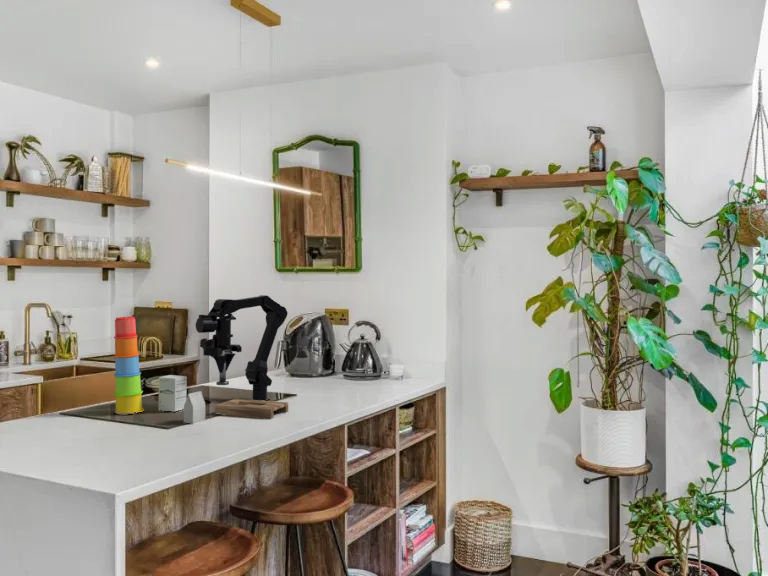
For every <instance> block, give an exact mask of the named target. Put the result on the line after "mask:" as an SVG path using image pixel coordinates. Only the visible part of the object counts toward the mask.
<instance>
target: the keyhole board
mask: <svg viewBox="0 0 768 576" xmlns="http://www.w3.org/2000/svg"><path fill="white" fill-rule="evenodd" d="M281 412H287V413H289V402H288V401H273V400H272V401H271V400H267V401H261V400H250V399H245V398H244V399H243V398H234V399H230V400H226V401H222V402H221V403H218V404H215V405H214V414H215V413H220V414H225V415H230V416H229V417H237V416H241V418H250V417H252V418H253V419H254V418H255V419H264V418H265V419H266V420H267V419H268V420H272V419H274V418H275V417H274V413H281ZM271 418H272V419H271Z"/></svg>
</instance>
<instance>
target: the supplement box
mask: <svg viewBox="0 0 768 576" xmlns="http://www.w3.org/2000/svg"><path fill="white" fill-rule="evenodd" d="M187 379H188V377H187V375H175V374H168V375H163V376H159V377H158V411H159V410H162V411H161V412H164V411H178V410H182V409H184V404H185V402H186V399H187V388H188V387H187V385H188V384H187V383H188V382H187Z"/></svg>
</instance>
